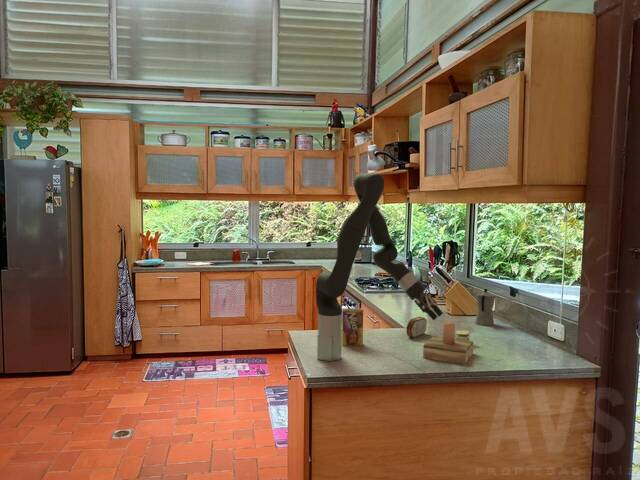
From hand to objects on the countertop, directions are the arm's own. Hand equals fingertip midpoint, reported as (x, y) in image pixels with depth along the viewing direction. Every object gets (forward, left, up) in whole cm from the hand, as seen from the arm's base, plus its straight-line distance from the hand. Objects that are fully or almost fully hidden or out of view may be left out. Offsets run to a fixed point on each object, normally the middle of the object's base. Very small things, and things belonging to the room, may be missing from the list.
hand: (438, 316), depth 205 cm
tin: (+24, +16, -15) cm, 33 cm away
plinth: (0, -4, -15) cm, 16 cm away
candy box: (-4, +36, -15) cm, 39 cm away
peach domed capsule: (0, -4, -10) cm, 11 cm away
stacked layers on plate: (+21, -5, -16) cm, 26 cm away
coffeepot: (+64, -7, -15) cm, 67 cm away
